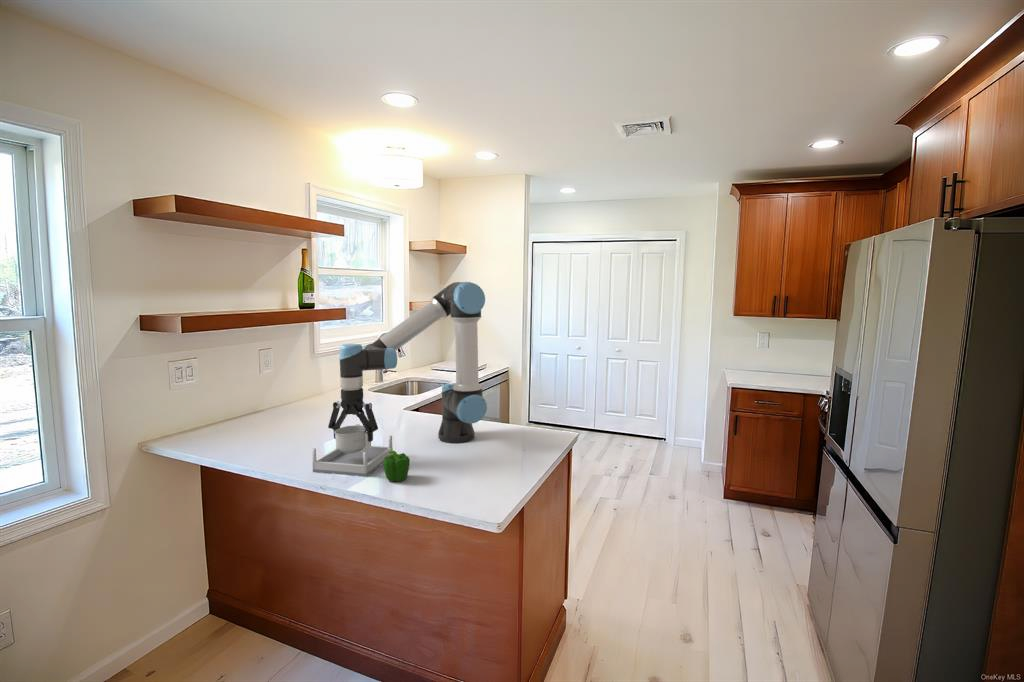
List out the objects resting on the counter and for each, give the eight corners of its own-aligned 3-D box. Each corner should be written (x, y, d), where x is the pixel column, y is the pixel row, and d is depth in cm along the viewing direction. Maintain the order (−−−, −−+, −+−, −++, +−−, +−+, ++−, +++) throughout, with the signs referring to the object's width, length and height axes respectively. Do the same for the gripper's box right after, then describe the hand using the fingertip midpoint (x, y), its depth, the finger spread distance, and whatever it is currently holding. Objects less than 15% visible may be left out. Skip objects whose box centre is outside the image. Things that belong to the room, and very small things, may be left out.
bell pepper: (412, 474, 168) (411, 445, 167) (407, 484, 160) (407, 454, 159) (387, 474, 168) (386, 445, 166) (381, 484, 159) (380, 454, 158)
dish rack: (393, 456, 185) (392, 435, 184) (366, 476, 166) (365, 453, 165) (343, 452, 190) (343, 432, 189) (312, 471, 170) (311, 449, 169)
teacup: (357, 457, 169) (357, 434, 168) (328, 454, 171) (328, 432, 170) (376, 444, 183) (376, 423, 182) (349, 442, 185) (349, 421, 184)
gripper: (387, 387, 176) (388, 447, 178) (328, 384, 181) (330, 443, 183) (377, 391, 169) (378, 454, 171) (316, 388, 173) (318, 449, 176)
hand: (353, 448), depth 177 cm, fingers closed on teacup, 11 cm apart
